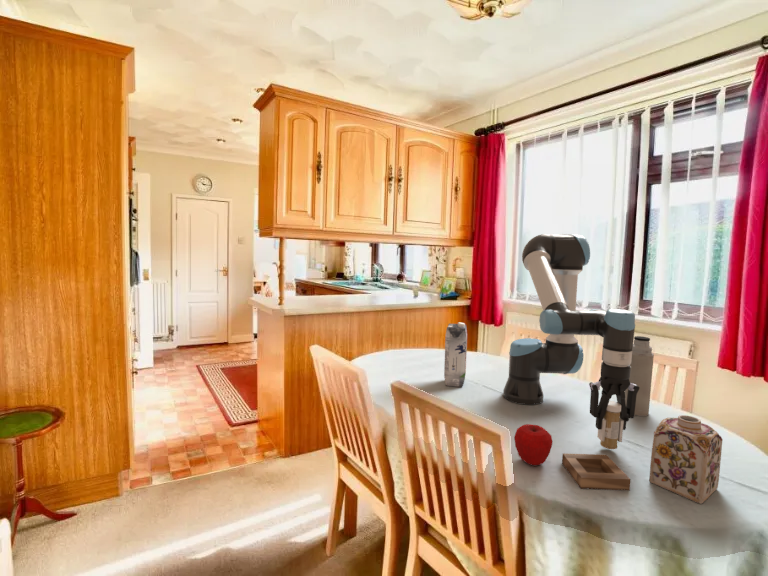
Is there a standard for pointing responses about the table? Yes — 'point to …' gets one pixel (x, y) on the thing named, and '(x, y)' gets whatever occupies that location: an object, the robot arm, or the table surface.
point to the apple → (533, 444)
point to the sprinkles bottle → (611, 425)
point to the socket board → (595, 472)
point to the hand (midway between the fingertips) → (609, 439)
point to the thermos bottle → (641, 374)
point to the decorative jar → (686, 457)
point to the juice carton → (455, 354)
